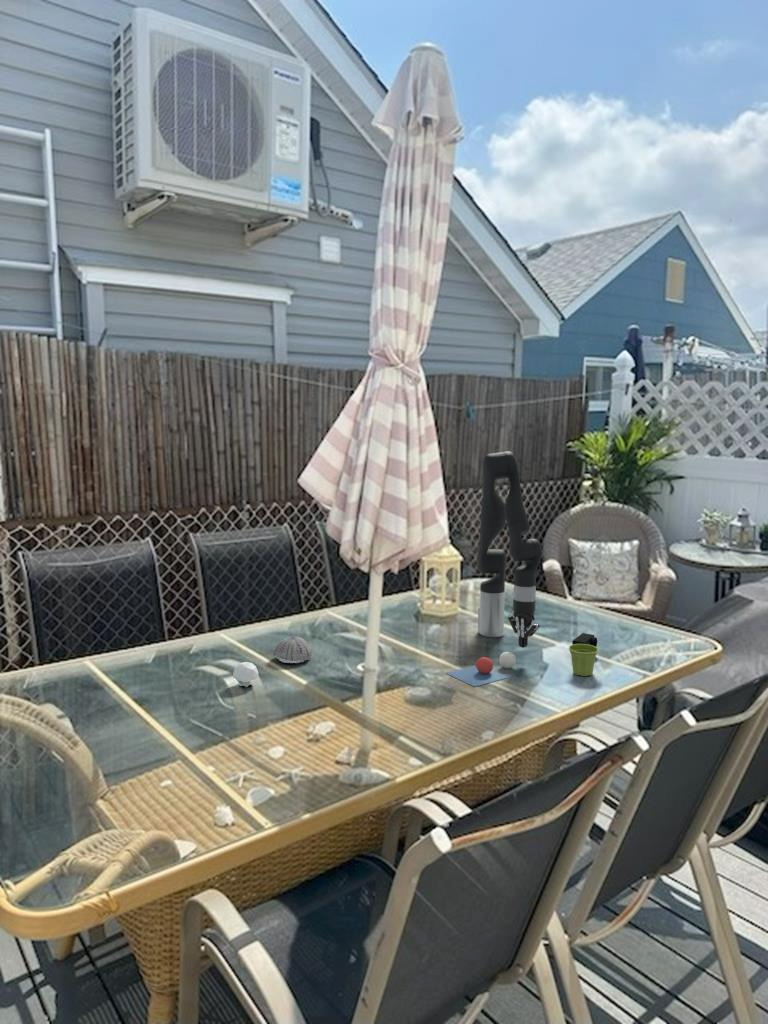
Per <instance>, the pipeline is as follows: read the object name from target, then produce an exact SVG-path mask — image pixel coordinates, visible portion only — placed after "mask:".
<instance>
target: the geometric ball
mask: <svg viewBox="0 0 768 1024" xmlns="http://www.w3.org/2000/svg"><path fill="white" fill-rule="evenodd" d="M232 677H233V679H234V678H235V679H236V680H239V681H242V682H248V681H251V680H254V679H256V678H257V677H259V671H258V669H257V666H256V665H255V664H254V663H252V662H248V661H243V662H241V663H238V664H237V665H236V666H235V668H234V669H233V674H232ZM257 679H258V678H257Z"/></svg>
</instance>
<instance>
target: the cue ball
mask: <svg viewBox="0 0 768 1024" xmlns="http://www.w3.org/2000/svg"><path fill="white" fill-rule="evenodd" d="M498 661H499V664H500V665H501V666H502V667H503V668H505V669H511V668H513V667H514V666H516V663H517V659H516V656H515V654H514V653H513V652H511V651H503V652H502V653H500V655H499V659H498Z"/></svg>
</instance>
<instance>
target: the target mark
mask: <svg viewBox="0 0 768 1024" xmlns="http://www.w3.org/2000/svg"><path fill="white" fill-rule="evenodd" d="M446 674H447V675H448V676H450V677H453V678H455V679H457V680H458V681H461V682H463V683H466V684H467V685H469V684H470V685H469V686H471V685H472V686H471V687H473V686H474V687H473V688H476V686H477V687H480V685H481V686H484V685H488V684H490V682H491V683H494V682H498V680H499V681H502V680H506V679H508V676H505V675H503V674H501V673H498V672H497V671H494V670H492V671H491V672H490V673H488V674H482V673H480V672H479V671H478V670H477V668H476V665H473V666H469V667H465V668H460V669H457V670H453V671H449V672H446ZM487 683H488V684H487ZM483 684H484V685H483Z"/></svg>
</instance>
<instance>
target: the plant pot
mask: <svg viewBox="0 0 768 1024" xmlns="http://www.w3.org/2000/svg"><path fill="white" fill-rule="evenodd" d="M568 650H569V652H570V655H571V656H570V658H571V664H572V673H573V674H575V675H576V674H577V675H581V676H580V677H582V676H585V677H587V676H588V677H590V676H589V675H591V676H592V675H593V673H594V667H595V663H596V662H595V661H596V657H597V653H598V652H599V648H598V647H595V646H592V645H587V644H573V645H572V644H571V645H569V646H568ZM577 675H576V676H577Z"/></svg>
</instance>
